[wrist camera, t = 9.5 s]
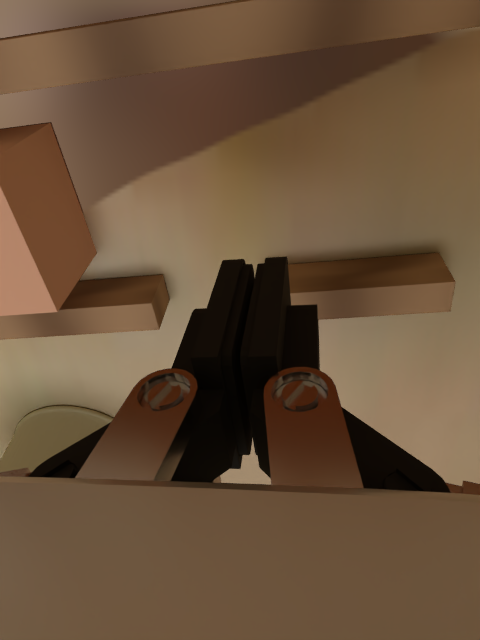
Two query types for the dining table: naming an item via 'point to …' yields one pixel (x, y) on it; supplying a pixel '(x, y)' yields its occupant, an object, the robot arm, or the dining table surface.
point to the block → (38, 223)
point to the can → (49, 434)
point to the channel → (212, 48)
